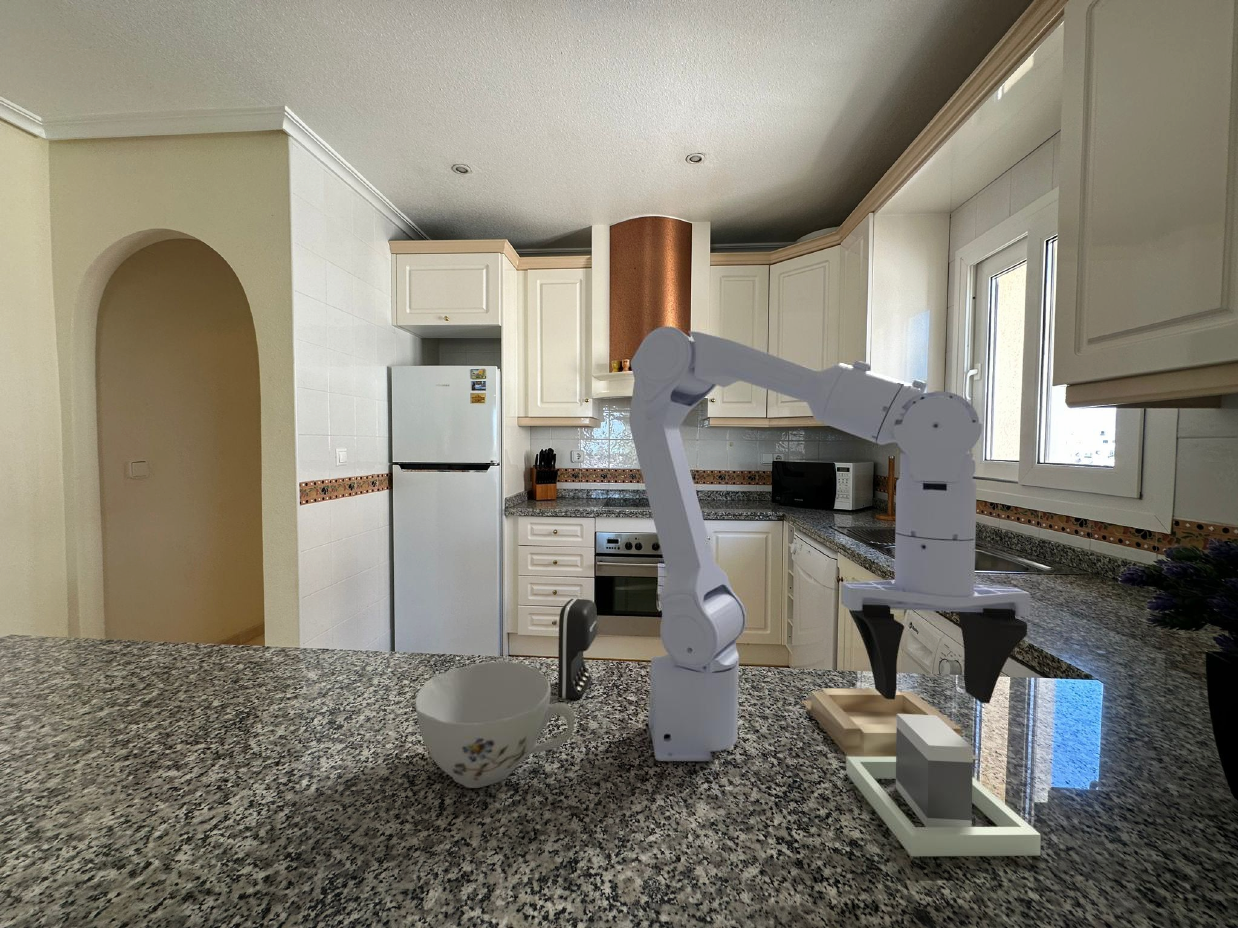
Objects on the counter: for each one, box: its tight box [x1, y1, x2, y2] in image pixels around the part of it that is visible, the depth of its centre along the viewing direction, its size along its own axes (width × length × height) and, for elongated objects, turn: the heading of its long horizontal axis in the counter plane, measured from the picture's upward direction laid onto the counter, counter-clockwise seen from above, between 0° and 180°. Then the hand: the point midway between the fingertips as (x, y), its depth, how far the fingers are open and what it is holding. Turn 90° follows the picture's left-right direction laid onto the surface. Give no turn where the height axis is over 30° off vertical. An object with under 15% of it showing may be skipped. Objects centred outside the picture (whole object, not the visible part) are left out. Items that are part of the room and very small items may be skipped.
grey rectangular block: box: [895, 714, 974, 827], centre depth 42 cm, size 3×5×7 cm
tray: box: [845, 756, 1042, 857], centre depth 42 cm, size 10×10×2 cm
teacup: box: [414, 661, 575, 789], centre depth 47 cm, size 15×12×8 cm
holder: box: [801, 687, 980, 761], centre depth 55 cm, size 13×12×3 cm
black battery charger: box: [557, 597, 598, 700], centre depth 65 cm, size 7×4×11 cm, turn 171°
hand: (930, 695), depth 42 cm, fingers open, 7 cm apart
